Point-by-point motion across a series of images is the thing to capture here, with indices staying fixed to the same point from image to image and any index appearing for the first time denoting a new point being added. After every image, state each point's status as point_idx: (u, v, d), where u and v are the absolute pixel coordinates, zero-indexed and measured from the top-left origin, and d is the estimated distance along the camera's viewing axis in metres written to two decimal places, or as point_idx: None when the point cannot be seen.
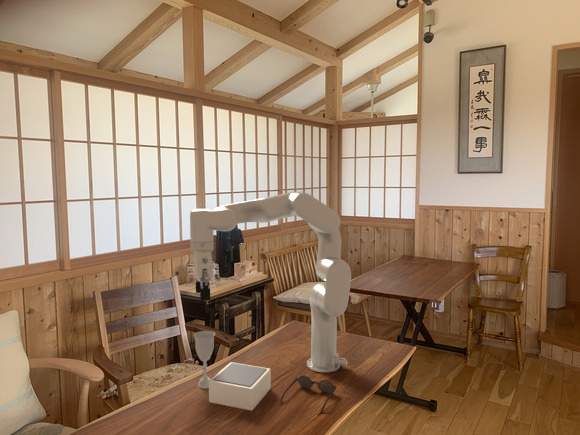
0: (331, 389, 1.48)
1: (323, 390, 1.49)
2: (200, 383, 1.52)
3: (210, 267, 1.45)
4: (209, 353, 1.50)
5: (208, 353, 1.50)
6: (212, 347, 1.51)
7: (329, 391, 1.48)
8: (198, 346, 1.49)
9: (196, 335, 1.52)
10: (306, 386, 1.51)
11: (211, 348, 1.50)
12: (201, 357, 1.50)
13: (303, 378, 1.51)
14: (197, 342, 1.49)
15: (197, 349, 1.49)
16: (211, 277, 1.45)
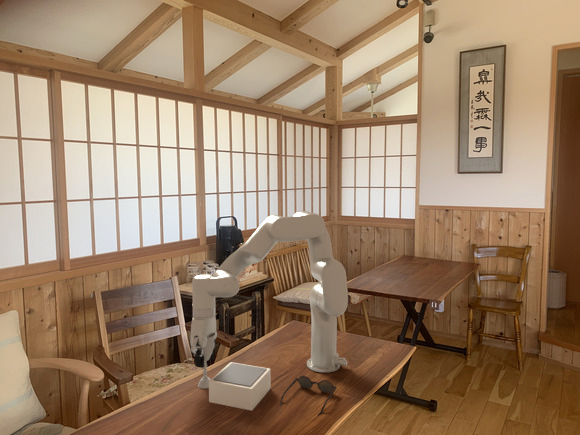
0: (331, 389, 1.48)
1: (323, 390, 1.49)
2: (200, 383, 1.52)
3: None
4: (209, 353, 1.50)
5: (208, 353, 1.50)
6: (212, 347, 1.51)
7: (329, 391, 1.48)
8: None
9: None
10: (306, 386, 1.51)
11: (211, 348, 1.50)
12: None
13: (303, 379, 1.51)
14: None
15: None
16: None
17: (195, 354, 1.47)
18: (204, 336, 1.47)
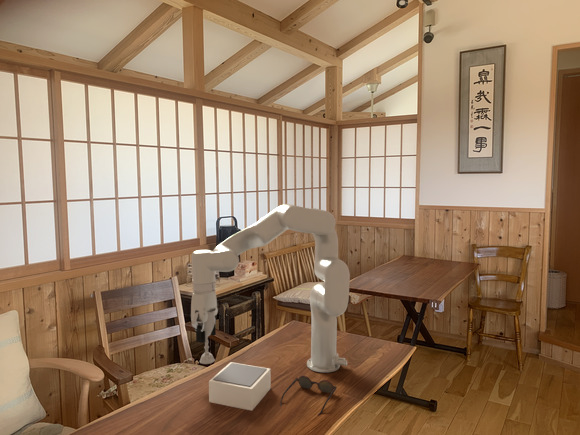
0: (331, 389, 1.48)
1: (323, 390, 1.49)
2: (202, 359, 1.51)
3: None
4: (210, 328, 1.50)
5: (209, 328, 1.49)
6: (213, 322, 1.50)
7: (329, 391, 1.48)
8: None
9: None
10: (306, 386, 1.51)
11: (212, 323, 1.50)
12: None
13: (303, 379, 1.51)
14: None
15: None
16: None
17: (196, 329, 1.46)
18: (204, 311, 1.46)
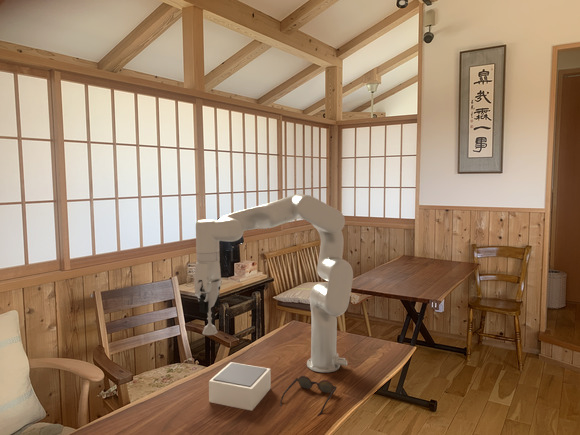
0: (331, 389, 1.47)
1: (323, 390, 1.49)
2: (205, 330, 1.49)
3: None
4: (213, 299, 1.47)
5: (212, 299, 1.47)
6: (216, 293, 1.48)
7: (329, 391, 1.48)
8: None
9: None
10: (306, 386, 1.51)
11: (215, 294, 1.48)
12: None
13: (303, 379, 1.51)
14: None
15: None
16: None
17: (199, 299, 1.44)
18: (208, 280, 1.44)
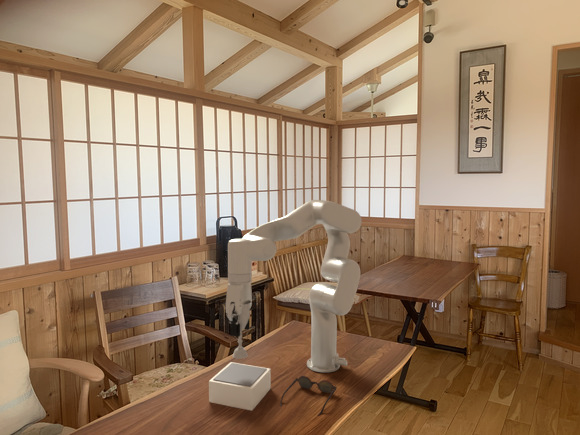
0: (331, 389, 1.47)
1: (323, 390, 1.49)
2: (235, 353, 1.43)
3: None
4: (245, 321, 1.42)
5: (244, 321, 1.42)
6: (248, 315, 1.43)
7: (329, 391, 1.48)
8: None
9: None
10: (306, 386, 1.51)
11: (247, 316, 1.42)
12: None
13: (303, 379, 1.51)
14: None
15: None
16: None
17: (231, 322, 1.39)
18: (241, 303, 1.39)
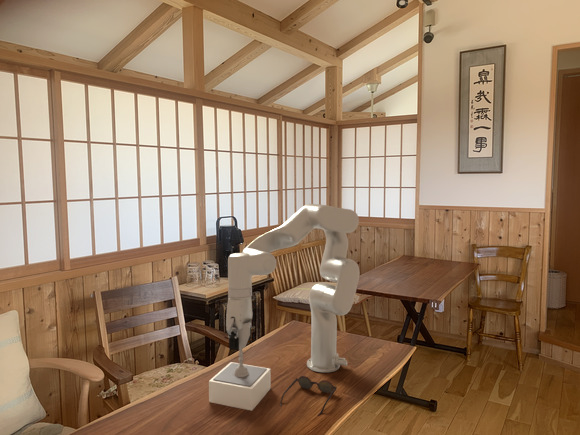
0: (331, 389, 1.47)
1: (323, 390, 1.48)
2: (236, 371, 1.44)
3: None
4: (245, 340, 1.43)
5: (244, 340, 1.43)
6: (248, 334, 1.43)
7: (329, 391, 1.48)
8: (234, 332, 1.42)
9: None
10: (306, 386, 1.51)
11: (248, 335, 1.43)
12: None
13: (303, 379, 1.51)
14: None
15: None
16: None
17: (230, 335, 1.38)
18: (241, 317, 1.39)
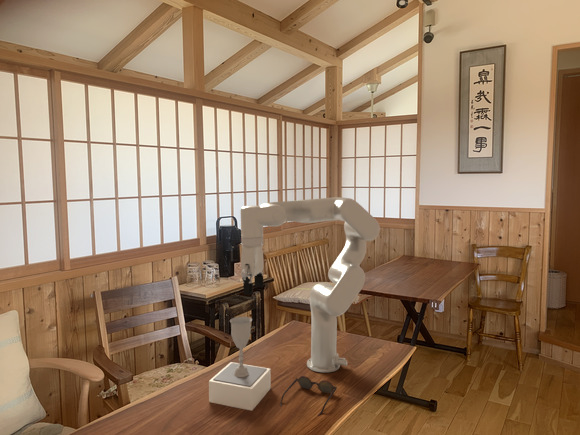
0: (331, 390, 1.47)
1: (323, 391, 1.48)
2: (236, 371, 1.44)
3: None
4: (246, 340, 1.43)
5: (245, 339, 1.43)
6: (249, 333, 1.43)
7: (329, 392, 1.48)
8: (235, 332, 1.42)
9: (232, 321, 1.45)
10: (306, 387, 1.51)
11: (248, 334, 1.43)
12: (237, 344, 1.43)
13: (303, 379, 1.51)
14: (233, 328, 1.42)
15: (233, 335, 1.42)
16: None
17: (244, 281, 1.47)
18: (254, 264, 1.49)
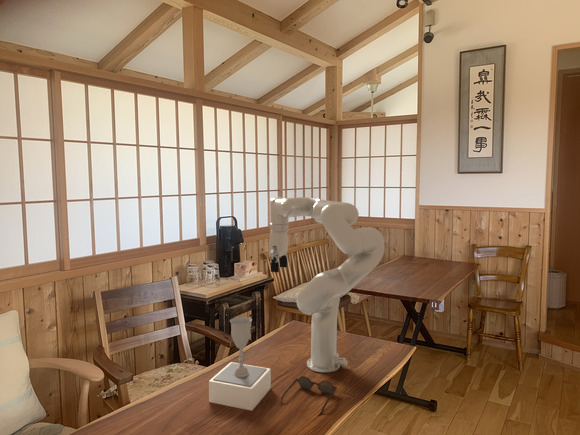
0: (331, 390, 1.47)
1: (323, 391, 1.48)
2: (236, 371, 1.44)
3: None
4: (246, 340, 1.43)
5: (245, 339, 1.43)
6: (249, 333, 1.43)
7: (329, 392, 1.48)
8: (235, 332, 1.42)
9: (232, 321, 1.45)
10: (306, 387, 1.51)
11: (248, 334, 1.43)
12: (237, 344, 1.43)
13: (303, 379, 1.50)
14: (233, 328, 1.42)
15: (233, 335, 1.42)
16: None
17: (272, 260, 1.75)
18: (280, 247, 1.77)
